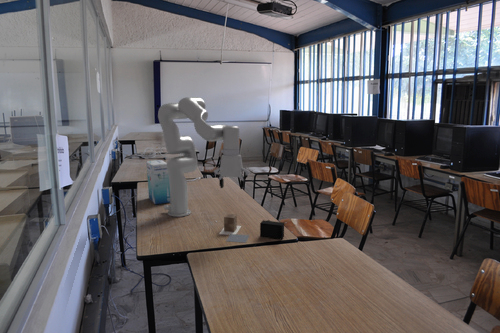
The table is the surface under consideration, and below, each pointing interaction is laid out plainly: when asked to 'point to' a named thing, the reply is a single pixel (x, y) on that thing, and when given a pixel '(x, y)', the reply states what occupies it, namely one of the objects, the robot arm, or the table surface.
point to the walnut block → (230, 222)
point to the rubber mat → (237, 238)
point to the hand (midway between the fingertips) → (231, 188)
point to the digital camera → (272, 229)
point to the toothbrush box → (158, 182)
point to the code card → (230, 232)
